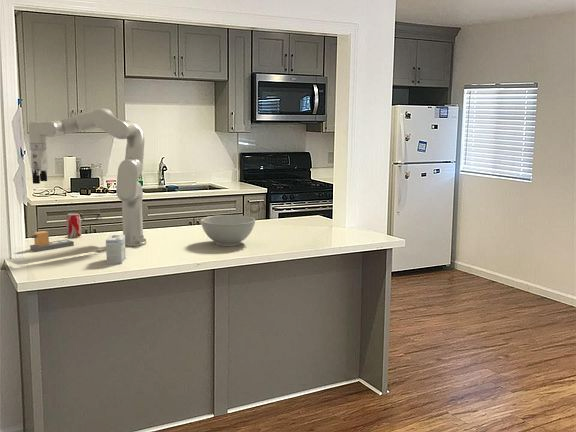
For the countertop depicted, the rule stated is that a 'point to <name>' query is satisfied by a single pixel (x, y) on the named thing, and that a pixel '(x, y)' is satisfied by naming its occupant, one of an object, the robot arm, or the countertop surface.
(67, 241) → the power strip
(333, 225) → the countertop surface
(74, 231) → the soda can
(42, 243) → the charger
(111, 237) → the light grey box
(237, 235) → the decorative bowl
